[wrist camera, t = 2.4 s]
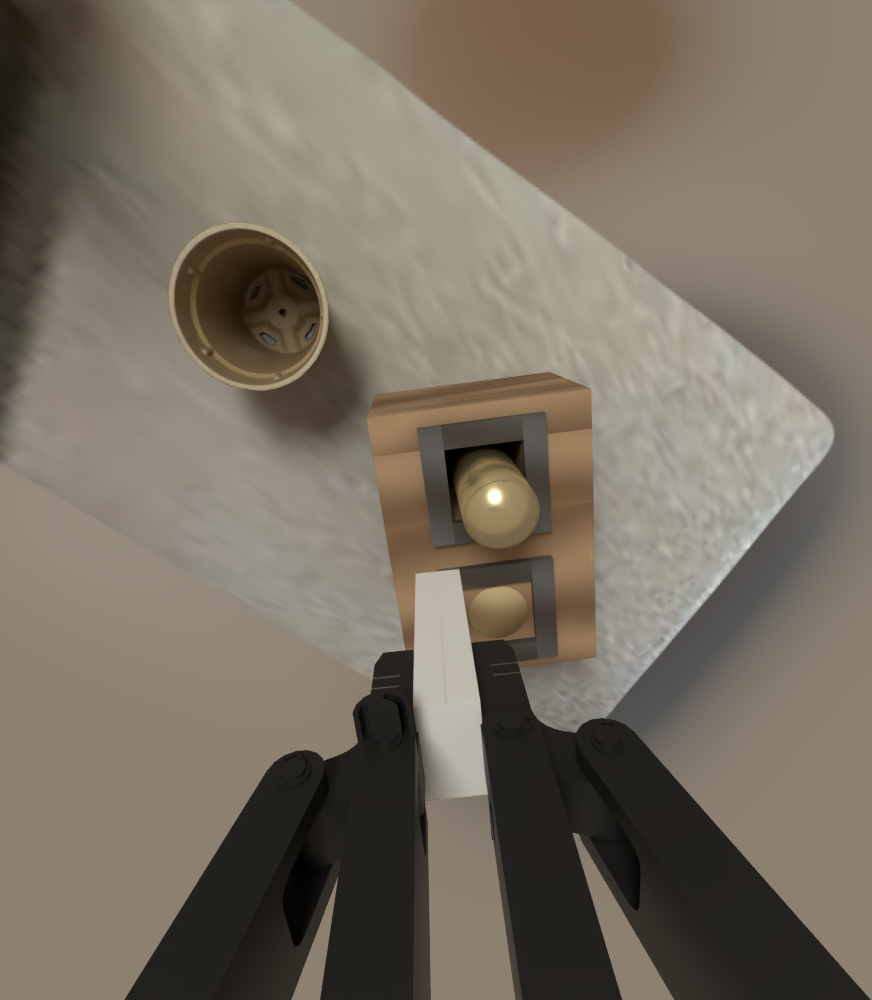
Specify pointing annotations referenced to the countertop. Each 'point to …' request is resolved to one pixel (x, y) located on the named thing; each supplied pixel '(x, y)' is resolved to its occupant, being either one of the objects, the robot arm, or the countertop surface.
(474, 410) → the socket block
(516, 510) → the peg
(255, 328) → the flower pot
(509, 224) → the countertop surface
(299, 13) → the countertop surface
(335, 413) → the countertop surface
